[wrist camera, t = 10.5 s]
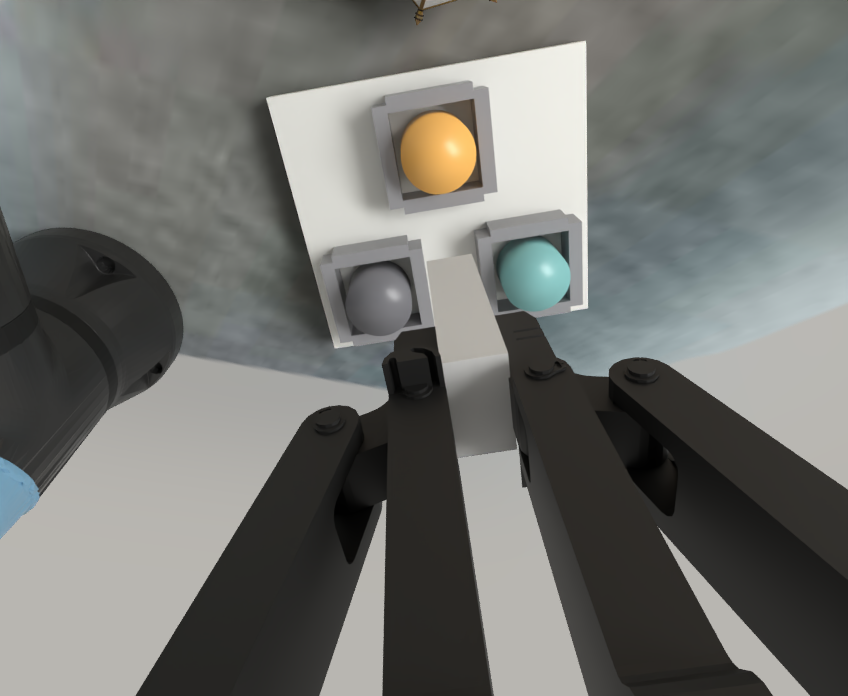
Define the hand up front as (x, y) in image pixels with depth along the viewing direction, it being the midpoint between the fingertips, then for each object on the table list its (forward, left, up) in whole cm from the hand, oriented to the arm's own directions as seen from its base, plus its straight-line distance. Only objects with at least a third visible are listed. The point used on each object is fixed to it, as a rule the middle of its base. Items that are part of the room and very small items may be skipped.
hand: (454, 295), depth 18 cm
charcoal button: (-5, -9, -24) cm, 26 cm away
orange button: (+1, +1, -24) cm, 24 cm away
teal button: (+7, -9, -24) cm, 26 cm away
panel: (+1, -4, -26) cm, 27 cm away
